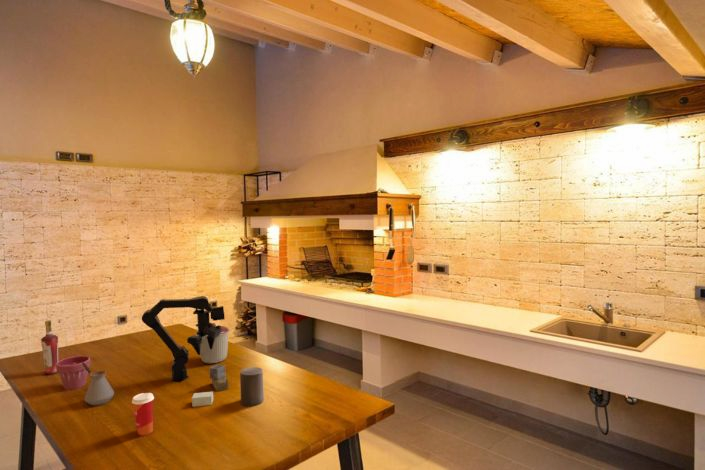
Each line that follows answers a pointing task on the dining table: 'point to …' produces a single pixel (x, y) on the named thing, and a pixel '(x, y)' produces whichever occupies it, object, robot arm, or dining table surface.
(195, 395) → the beige brick
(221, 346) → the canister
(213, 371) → the gray cube
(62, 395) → the dining table surface
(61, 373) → the plant pot
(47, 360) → the liquor
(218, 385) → the stone block
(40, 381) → the dining table surface
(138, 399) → the paper cup
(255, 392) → the pillar candle
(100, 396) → the coffee pot
